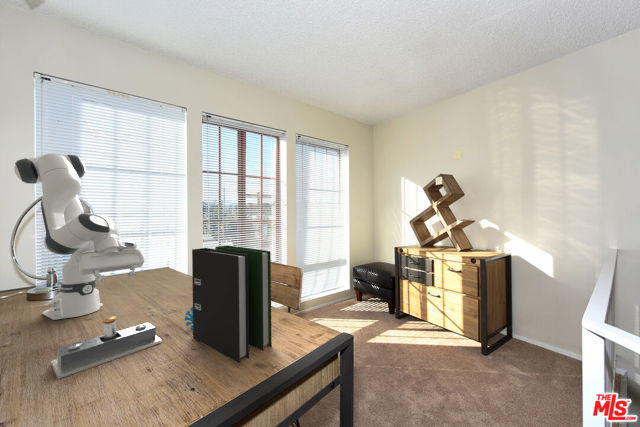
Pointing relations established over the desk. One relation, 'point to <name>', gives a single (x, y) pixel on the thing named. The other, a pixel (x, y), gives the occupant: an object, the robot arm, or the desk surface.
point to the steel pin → (109, 328)
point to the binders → (232, 299)
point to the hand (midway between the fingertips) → (117, 278)
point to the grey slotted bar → (103, 349)
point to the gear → (189, 318)
